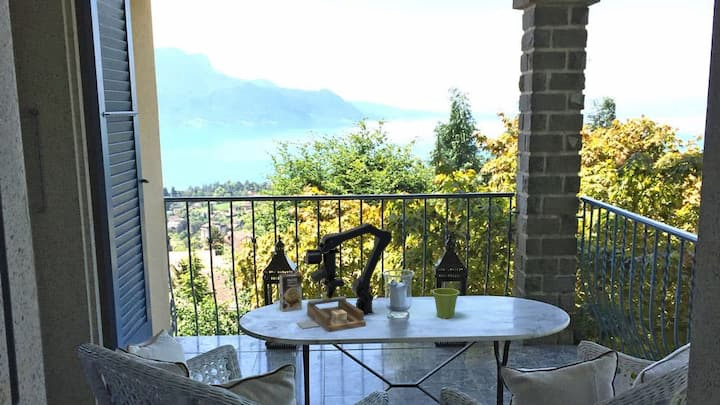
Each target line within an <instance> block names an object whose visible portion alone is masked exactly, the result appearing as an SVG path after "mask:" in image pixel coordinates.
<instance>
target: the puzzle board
mask: <svg viewBox="0 0 720 405" xmlns="http://www.w3.org/2000/svg"><path fill="white" fill-rule="evenodd" d="M335 310H344V311H345V312H347V323H341V324H334V323H333V322H332V321H331V311H335ZM306 314H307V315H306V316H308V317H309V318H310V319H311V320H312V321H314V322H316V323H317V324H318V325H319V326H320V327H322V329H324V330H325V331H327V332H328V333H330V332H337V331H342V330H349V329H355V328H361V327H366V326H367V321H366V320H365V318H364V316H365V315H364V312H363V311H361V310H360V309H358V308H357V307H356V305H353V304H352V303H351V302H349V301H347V300H346V301H339V302H337V306H330V307H322V308H319V307H318V306H317V305H310V304H308V302H307V303H306Z"/></svg>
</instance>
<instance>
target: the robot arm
mask: <svg viewBox="0 0 720 405" xmlns="http://www.w3.org/2000/svg"><path fill="white" fill-rule="evenodd" d="M366 234H371V235H372V236H374V238H373V247H372V250H371V252H370V254H369V256H368V258H367V261H366V264H365V266H364V268H363V270H362V273H361V275H359V277H356V276H355V277H354V280H353V283H352V284H351V287H352V288H351V290H352V293H353V294H355V296H356V297H357V298H356V302H355V307H357V308H358V309H360V310H361V311H363V312H364V316H365V315H372V314H374V313H375V312H374V311H373V300H374V296H373V294H371V293H370V288H371V279H372V277H373V274H374V273H375V270H376V268H377V265H378V264H379V261H380V258H381V257H382V254H383V252H384V250H385V249H386V248H387V247H388V246H389V245H390V243H391V242H392V239H393V235H392V233H391V232H390V231H389V230H387V229H384V228H378V227H375V226H374V225H372V224H371V223H368V222H365V223H363V224H361V225H359V226H355V227H352V228H349V229H347V230H344V231H341V232H332V233H326V234H324V235H323V236H322V238H321V241H320V242H319V245H318V246H317V248H314V249H311V248H307V249H306V252H305V256H304V258H305V260H304V261H305V265H306V266H313V265H314V266H315V265H320V264H321V263H322V264H321V266H320V269H317V270H315V271H313V272H311V273H310V274H309V276H310V278H311V281H312V282H314V283H319V281H320V283H321V284H322V285H323V286H324V288H325V292H327V295H328V298H331V297H332V298H333V296H334V293H335V291H336V289H337V288H338V287H345V281H344V280H343V279H342V278H340V277H339V275H337V269H339V268H338V267H339V266H338V265H337V254H341V253H342V252H341V251H340V250H339V249H338V248H337V247H339V246H340V245H342V244H343V243H345V242H348V241H350V240H353V239H356V238H359V237H361V236H363V235H366Z"/></svg>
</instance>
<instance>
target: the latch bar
mask: <svg viewBox="0 0 720 405" xmlns="http://www.w3.org/2000/svg"><path fill="white" fill-rule="evenodd" d="M307 301H308V302H307V303H308V304H310V305H315V306H317V305H323V304H330V303H331V304H332V303H338V302H339V301H347V297H346V296H344V295H342V296H336V297H333V296H332V297H331V298H328V295H327V292H326V291H324V292H322V298H320V299H314V300H307Z"/></svg>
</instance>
